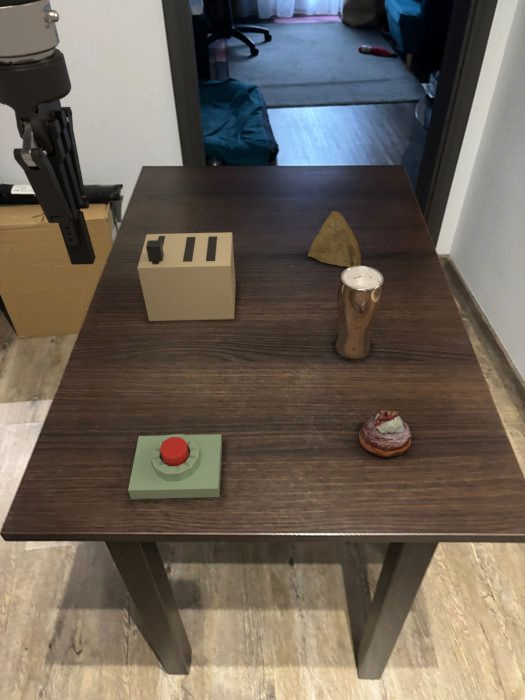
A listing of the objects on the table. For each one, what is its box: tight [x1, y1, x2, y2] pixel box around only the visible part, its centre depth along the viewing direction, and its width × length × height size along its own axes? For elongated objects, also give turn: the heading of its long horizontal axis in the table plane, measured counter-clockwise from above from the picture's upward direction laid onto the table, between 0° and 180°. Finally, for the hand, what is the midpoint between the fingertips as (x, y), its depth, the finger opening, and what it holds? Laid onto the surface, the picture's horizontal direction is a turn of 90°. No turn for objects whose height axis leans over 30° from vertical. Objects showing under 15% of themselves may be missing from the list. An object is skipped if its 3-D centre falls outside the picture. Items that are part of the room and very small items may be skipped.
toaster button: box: [146, 240, 164, 261], centre depth 91 cm, size 2×2×3 cm
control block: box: [127, 433, 223, 500], centre depth 73 cm, size 12×9×4 cm
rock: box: [307, 210, 362, 268], centre depth 109 cm, size 11×9×10 cm
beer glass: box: [334, 265, 384, 360], centre depth 87 cm, size 7×7×15 cm
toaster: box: [137, 231, 236, 322], centre depth 98 cm, size 16×11×12 cm
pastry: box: [358, 409, 413, 459], centre depth 76 cm, size 8×8×5 cm
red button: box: [160, 437, 188, 466], centre depth 71 cm, size 4×4×2 cm
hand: (83, 260), depth 66 cm, fingers closed
